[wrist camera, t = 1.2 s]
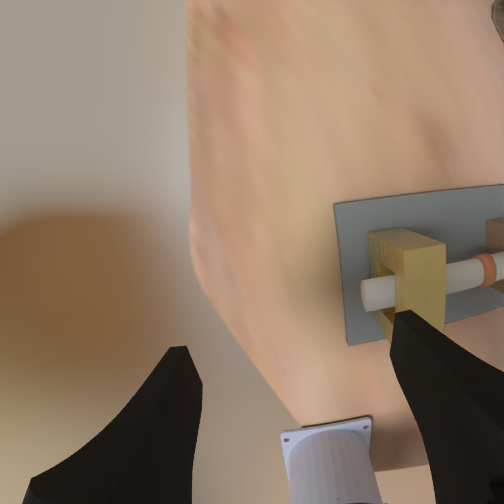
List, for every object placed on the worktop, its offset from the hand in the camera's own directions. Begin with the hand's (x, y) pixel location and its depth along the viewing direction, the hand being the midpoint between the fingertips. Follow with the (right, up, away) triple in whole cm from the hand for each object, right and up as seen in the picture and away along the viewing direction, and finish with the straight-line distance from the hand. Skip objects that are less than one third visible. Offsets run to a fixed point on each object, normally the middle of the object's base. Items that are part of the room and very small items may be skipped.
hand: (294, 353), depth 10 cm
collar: (+8, +2, +9) cm, 12 cm away
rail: (+12, +3, +10) cm, 16 cm away
